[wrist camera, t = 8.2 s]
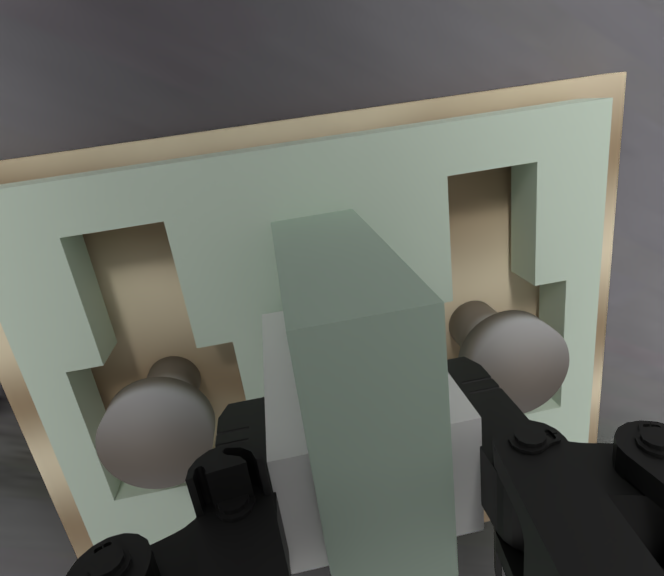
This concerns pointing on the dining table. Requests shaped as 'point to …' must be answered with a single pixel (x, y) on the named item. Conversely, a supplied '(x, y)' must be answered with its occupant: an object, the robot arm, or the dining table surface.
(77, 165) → the boss board
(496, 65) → the dining table surface
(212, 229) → the panel
